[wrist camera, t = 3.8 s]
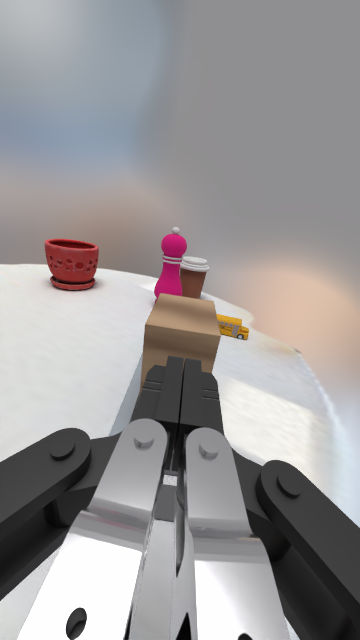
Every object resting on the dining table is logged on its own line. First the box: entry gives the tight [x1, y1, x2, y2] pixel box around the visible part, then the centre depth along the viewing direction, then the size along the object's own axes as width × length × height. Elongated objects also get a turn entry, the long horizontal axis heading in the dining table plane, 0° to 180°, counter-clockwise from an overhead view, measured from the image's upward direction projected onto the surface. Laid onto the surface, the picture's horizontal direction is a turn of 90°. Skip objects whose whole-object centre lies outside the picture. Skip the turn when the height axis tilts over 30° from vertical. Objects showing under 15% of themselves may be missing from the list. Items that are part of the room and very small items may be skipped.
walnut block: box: [139, 293, 221, 397], centre depth 24 cm, size 8×6×14 cm
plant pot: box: [45, 239, 99, 290], centre depth 62 cm, size 13×13×12 cm
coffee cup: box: [180, 257, 210, 299], centre depth 65 cm, size 9×9×12 cm
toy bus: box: [216, 314, 249, 339], centre depth 50 cm, size 3×10×4 cm, turn 76°
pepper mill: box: [154, 227, 187, 303], centre depth 54 cm, size 7×7×20 cm
